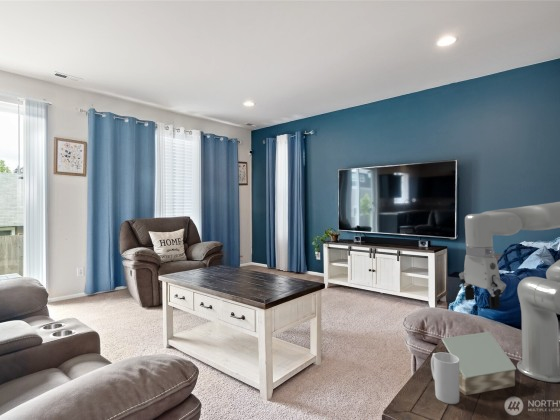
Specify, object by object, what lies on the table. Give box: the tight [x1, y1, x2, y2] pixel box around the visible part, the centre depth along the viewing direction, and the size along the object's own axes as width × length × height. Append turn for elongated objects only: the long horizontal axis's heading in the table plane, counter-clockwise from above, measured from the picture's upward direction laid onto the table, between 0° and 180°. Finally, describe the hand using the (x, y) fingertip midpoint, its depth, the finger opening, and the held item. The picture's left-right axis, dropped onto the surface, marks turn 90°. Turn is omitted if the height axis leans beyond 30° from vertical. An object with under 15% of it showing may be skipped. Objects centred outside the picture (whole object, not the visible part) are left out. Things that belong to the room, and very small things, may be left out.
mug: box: [430, 351, 460, 405], centre depth 97 cm, size 10×7×12 cm, turn 12°
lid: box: [441, 331, 517, 379], centre depth 102 cm, size 18×12×1 cm
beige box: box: [459, 370, 516, 396], centre depth 104 cm, size 18×13×5 cm
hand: (481, 303), depth 105 cm, fingers open, 9 cm apart
